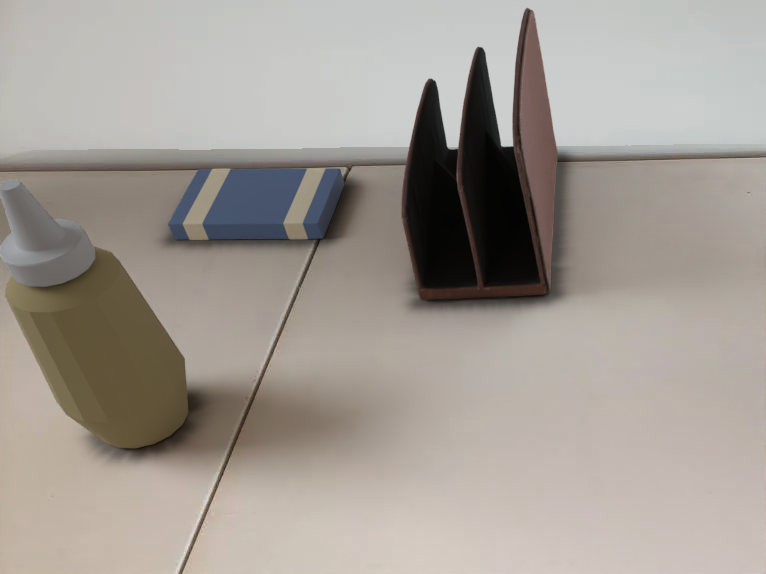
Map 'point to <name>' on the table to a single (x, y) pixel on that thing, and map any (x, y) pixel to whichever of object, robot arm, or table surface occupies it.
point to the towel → (258, 204)
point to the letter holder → (484, 187)
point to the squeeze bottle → (90, 328)
